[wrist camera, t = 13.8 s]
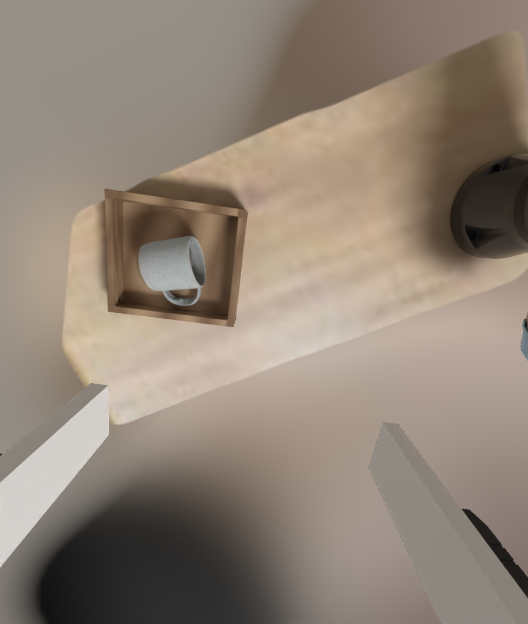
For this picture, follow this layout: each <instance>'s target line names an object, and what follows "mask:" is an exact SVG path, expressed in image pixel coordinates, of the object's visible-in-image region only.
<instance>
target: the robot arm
mask: <svg viewBox="0 0 528 624" xmlns="http://www.w3.org/2000/svg"><path fill="white" fill-rule="evenodd" d="M451 228H452V232H453V235H454V238H455V240H456V242H457V243H458V245H459V246H460V247H461V248H462V249H463V250H464V251H466V252H467V253H469V254H471V255H473V256H476V257H480V258H493V259H500V258H508V257H512V256H516V255H519V254H523V253H527V252H528V153H519V154H513V155H509V156H505V157H502V158H500V159H497V160H494V161H491V162H489V163H487V164H485V165H483V166H482V167H480V168H479V169H477V170H476V171H475V172H474V173H473V174H472V175H471V176H470V177H469V178H468V179H467V180H466V181H465V182H464V184H463V185H462V187H461V188H460V190H459V192H458V193H457V196H456V198H455V200H454V203H453V207H452V212H451ZM523 330H524V331H523V335H522V340H521V351H522V352H523V354H524V356H525V358H526V359H527V360H528V314H527V318H526V319H524V322H523ZM108 435H109V412H108V385H101V384H93V383H91V384H90V385H89V386H87V387H86V388H85V389H84V390H82V391H81V392H80V393H79V394H77V395H76V396H75V397H74V398H72V399H71V400H70V401H69V402H67V403H66V404H65V405H64V406H62V407H61V408H60V409H59V410H57V411H56V412H55V413H54V414H52V415H51V416H50V417H49V418H47V419H46V420H45V421H44V422H42V423H41V424H40V425H39V426H37V427H36V428H35V429H34V430H32V431H31V432H30V433H29V434H27V435H26V436H25V437H24V438H22V439H21V440H20V441H19V442H18V443H16V444H15V445H14V446H12V447H11V448H10V449H9V450H7V451H6V452H5V453H4V454H0V567H1V565H2V564H3V563H4V562H5V561H6V559H7V558H8V557H9V556H10V554H11V553H12V552H13V551H14V549H15V548H16V547H17V546H18V545H19V543H20V542H21V541H22V540H23V539H24V537H25V536H26V535H27V534H28V532H29V531H30V530H31V529H32V528H33V526H34V525H35V524H36V523H37V522H38V520H39V519H40V518H41V517H42V515H43V514H44V513H45V512H46V511H47V509H48V508H49V507H50V505H51V504H52V503H53V502H54V501H55V500H56V498H57V497H58V496H59V495H60V494H61V492H62V491H63V490H64V489H65V487H66V486H67V485H68V484H69V483H70V481H71V480H72V479H73V478H74V476H75V475H76V474H77V473H78V472H79V470H80V469H81V468H82V467H83V466H84V464H85V463H86V462H87V461H88V459H89V458H90V457H91V456H92V455H93V453H94V452H95V451H96V450H97V448H98V447H99V446H100V445H101V444H102V442H103V441H104V440H105V439H106V437H107V436H108ZM368 468H369V470H370V472H371V474H372V477H373V479H374V480H375V483H376V485H377V487H378V489H379V492H380V493H381V496H382V498H383V500H384V502H385V504H386V507H387V509H388V511H389V513H390V515H391V517H392V520H393V522H394V524H395V526H396V528H397V530H398V533H399V535H400V537H401V539H402V541H403V543H404V545H405V548H406V550H407V552H408V554H409V556H410V558H411V560H412V563H413V565H414V567H415V569H416V571H417V574H418V576H419V578H420V580H421V582H422V584H423V586H424V589H425V591H426V593H427V595H428V597H429V599H430V602H431V603H432V606H433V608H434V610H435V612H436V614H437V617H438V619H439V621H440V623H441V624H528V577H527V576H526V575H525V573H524V572H523V571H522V570H521V568H520V567H519V566H518V565H516V564H515V562H514V559H513V558H512V557H511V556H510V554H509V553H508V552H507V551H506V549H505V548H503V547H502V544H501V543H500V542H499V540H498V539H497V538H496V537H495V535H494V534H493V533H492V532H491V530H490V529H489V528H488V527H487V525H485V524H484V523H483V522H482V521H481V520H480V519H479V518H478V517H477V516H476V515H475V514H474V513H472V512H471V511H470V510H468V509H461V508H460V507H459V505H458V504H457V503H456V501H455V500H454V498H453V497H452V496H451V494H450V493H449V492H448V490H447V489H446V488H445V486H444V485H443V484H442V482H441V481H440V480H439V478H438V477H437V476H436V474H435V473H434V471H433V470H432V469H431V467H430V466H429V465H428V463H427V462H426V461H425V459H424V458H423V457H422V455H421V454H420V453H419V451H418V450H417V449H416V447H415V446H414V445H413V443H412V442H411V441H410V439H409V438H408V437H407V435H406V434H405V433H404V431H403V430H402V428H401V427H400V426H399V425H398V424H394V423H386V422H383V424H382V427H381V430H380V433H379V436H378V439H377V442H376V445H375V448H374V452H373V454H372V457H371V460H370V463H369V466H368Z"/></svg>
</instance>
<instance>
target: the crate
mask: <svg viewBox="0 0 528 624" xmlns="http://www.w3.org/2000/svg"><path fill="white" fill-rule="evenodd" d="M247 214H248V213H247V210H243V209H236V208H230V207H223V206H216V205H210V204H203V203H196V202H189V201H183V200H176V199H169V198H163V197H156V196H149V195H142V194H136V193H129V192H122V191H116V190H109V189H105V218H106V256H107V293H108V312H116V313H124V314H132V315H140V316H148V317H156V318H164V319H172V320H180V321H188V322H196V323H205V324H213V325H221V326H229V327H234V323H235V320H236V312H237V303H238V294H239V285H240V276H241V268H242V259H243V250H244V241H245V232H246V223H247ZM186 236H194V237H195V238H196V239H197V241H198V242H199V244H200V247H201V249H202V253H203V257H204V261H205V269H206V278H205V284H204V286H203V287H201V293H200V297H199V299H198V300H197V302H196V303H194V304H192V305H189V306H181V305H176V304H174V303H172V302H170V301H169V300H168V299H167V298H166V297H165V295H164V294H163V292H162V291H154V290H151V289H149V288H147V287H146V286H145V285H144V284H143V282H142V281H141V279H140V277H139V275H138V272H137V268H136V254H137V251H138V249H139V248H140V247H141V246H142V245H144V244H147V243H150V242H155V241H162V240H168V239H173V238H180V237H186ZM197 291H198V290H197V288H194V289H179V290H169V292H171V294H172V295H173V296H175V297H177V298H194V297H196V296H197Z"/></svg>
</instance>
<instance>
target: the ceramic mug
mask: <svg viewBox="0 0 528 624" xmlns="http://www.w3.org/2000/svg"><path fill="white" fill-rule="evenodd" d="M136 268H137V272H138V275H139V277H140V279H141V281H142V282H143V284H144V285H145V286H146V287H147V288H149V289H151V290H154V291H162V292H163V294H164V295H165V297H166V298H167V299H168V300H169V301H170V302H172V303H174V304H176V305H181V306H189V305H192V304H194V303H196V302H197V300H198V299H199V297H200V293H201V287H203V286H204V284H205V278H206V269H205V261H204V257H203V253H202V249H201V247H200V244H199V242H198V241H197V239H196V238H195V237H194V236H186V237H180V238H173V239H168V240H162V241H155V242H150V243H147V244H144V245H142V246H141V247H140V248H139V249H138V251H137V254H136ZM194 288H197V290H198V291H197V296H196V297H194V298H177V297H175V296H173V295H172V294H171V292H169V290H179V289H194Z"/></svg>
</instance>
